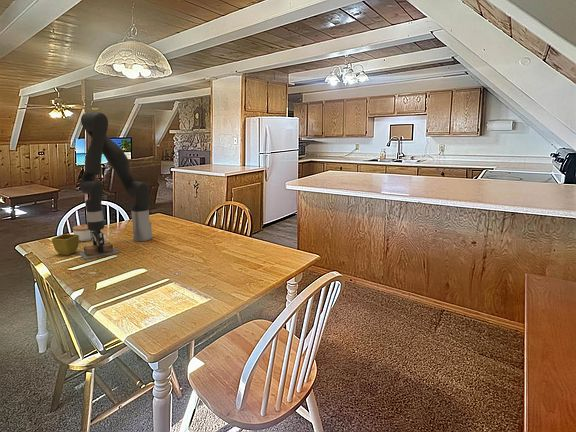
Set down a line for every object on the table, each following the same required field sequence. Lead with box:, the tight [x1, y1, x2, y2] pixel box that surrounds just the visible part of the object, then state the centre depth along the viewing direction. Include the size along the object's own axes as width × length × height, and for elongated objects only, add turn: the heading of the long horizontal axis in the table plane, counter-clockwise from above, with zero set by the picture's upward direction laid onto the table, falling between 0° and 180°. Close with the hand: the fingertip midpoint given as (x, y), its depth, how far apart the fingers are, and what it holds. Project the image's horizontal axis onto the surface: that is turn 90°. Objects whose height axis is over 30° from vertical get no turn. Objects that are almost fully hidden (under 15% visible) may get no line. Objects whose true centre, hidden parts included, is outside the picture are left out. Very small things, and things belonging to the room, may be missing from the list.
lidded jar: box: [72, 223, 92, 242], centre depth 209 cm, size 11×11×9 cm
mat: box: [78, 247, 120, 261], centre depth 188 cm, size 16×12×1 cm
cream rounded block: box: [100, 233, 108, 243], centre depth 198 cm, size 6×6×6 cm
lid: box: [83, 241, 114, 256], centre depth 188 cm, size 12×6×4 cm, turn 132°
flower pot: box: [51, 233, 80, 256], centre depth 186 cm, size 9×9×9 cm
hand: (98, 250), depth 188 cm, fingers open, 8 cm apart
